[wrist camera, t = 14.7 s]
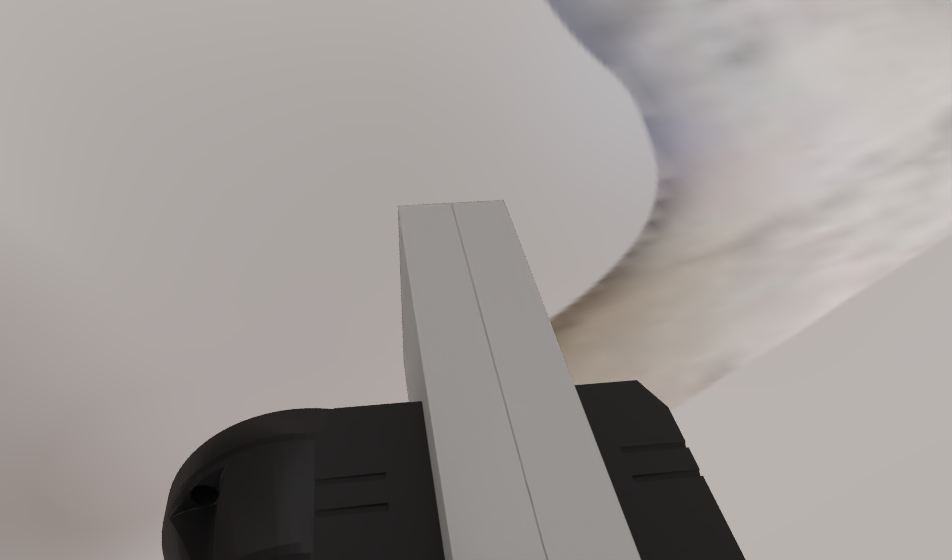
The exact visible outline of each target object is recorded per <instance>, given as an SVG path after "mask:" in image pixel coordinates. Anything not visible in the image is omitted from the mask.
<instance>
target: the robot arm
mask: <svg viewBox="0 0 952 560" xmlns="http://www.w3.org/2000/svg"><path fill="white" fill-rule="evenodd" d="M398 220H399V247H400V273H401V300H402V325H403V352H404V367H405V375H406V383H407V391H408V398H409V402H406V403H394V404H381V405H369V406H357V407H345V408H334V409H321V408H305V409H292V410H284V411H278V412H272V413H268V414H264V415H261V416H257V417H254V418H251V419H248V420H245V421H242V422H240V423H238V424H235V425H233V426H231V427H229V428H227V429H225V430H223V431H222V432H220V433H218V434H216V435H215V436H213V437H212V438H210V439H209V440H208V441H206V442H205V443H204V444H203V445H201V446H200V447H199V448H198V449H197V450H196V451H195V452H194V453H192V454H191V456H190V457H189V458H188V459H187V460H186V461H185V463H184V464H183V465H182V467H181V468H180V470H179V472H178V473H177V475H176V477H175V479H174V481H173V483H172V486H171V489H170V493H169V497H168V502H167V506H166V511H165V516H164V521H163V528H162V549H163V555H164V560H745V558H744V556H743V554H742V552H741V550H740V548H739V546H738V544H737V542H736V540H735V538H734V536H733V534H732V532H731V530H730V528H729V526H728V524H727V522H726V520H725V518H724V516H723V514H722V512H721V510H720V509H719V506H718V505H717V503H716V501H715V499H714V497H713V495H712V493H711V491H710V489H709V487H708V485H707V483H706V481H705V479H704V477H703V476H700V473H699V467H698V465H697V463H696V461H695V459H694V457H693V455H692V453H691V451H690V449H689V448H686V446H685V440H684V438H683V436H682V434H681V432H680V430H679V428H678V426H677V424H676V422H675V420H674V418H673V416H672V414H671V412H670V410H669V408H668V407H667V406H666V405H665V404H664V403H663V402H661V401H660V400H659V399H658V398H657V397H656V396H654V395H653V394H652V393H651V392H650V391H649V390H647V389H646V388H645V387H644V386H643V385H642V384H641V383H639V382H638V381H637V380H633V381H621V382H609V383H597V384H585V385H574V383H573V380H572V378H571V375H570V372H569V370H568V367H567V365H566V362H565V359H564V357H563V354H562V352H561V349H560V346H559V344H558V341H557V338H556V336H555V333H554V331H553V328H552V325H551V323H550V320H549V317H548V315H547V312H546V310H545V307H544V304H543V302H542V299H541V296H540V294H539V292H538V289H537V286H536V283H535V281H534V278H533V276H532V273H531V270H530V268H529V265H528V262H527V260H526V257H525V255H524V252H523V249H522V247H521V244H520V241H519V239H518V236H517V234H516V231H515V228H514V226H513V223H512V221H511V218H510V215H509V213H508V210H507V208H506V205H505V202H504V200H497V201H480V202H479V201H478V202H460V203H442V204H425V205H424V204H423V205H406V206H398Z"/></svg>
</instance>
